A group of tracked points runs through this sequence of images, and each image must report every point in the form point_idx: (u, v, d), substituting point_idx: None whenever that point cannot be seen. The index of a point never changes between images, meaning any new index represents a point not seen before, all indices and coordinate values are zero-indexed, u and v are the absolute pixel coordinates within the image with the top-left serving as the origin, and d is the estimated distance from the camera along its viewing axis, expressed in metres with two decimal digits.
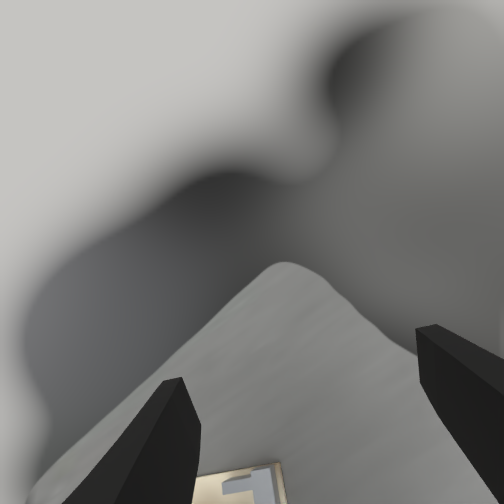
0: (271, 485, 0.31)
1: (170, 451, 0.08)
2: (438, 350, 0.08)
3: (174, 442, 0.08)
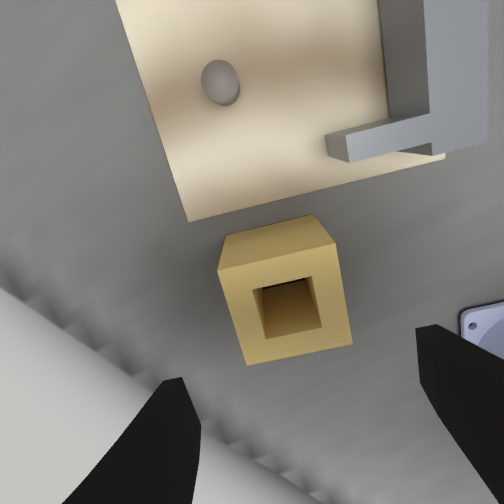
0: None
1: (170, 451, 0.08)
2: (438, 350, 0.08)
3: (174, 442, 0.08)
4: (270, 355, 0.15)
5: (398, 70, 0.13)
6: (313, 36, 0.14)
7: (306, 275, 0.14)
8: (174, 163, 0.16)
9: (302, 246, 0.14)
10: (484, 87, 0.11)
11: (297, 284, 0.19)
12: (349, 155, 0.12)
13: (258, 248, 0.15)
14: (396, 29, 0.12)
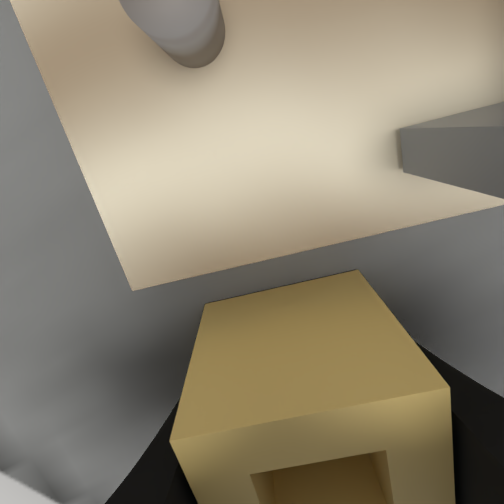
0: None
1: None
2: None
3: None
4: None
5: None
6: None
7: (374, 449, 0.06)
8: (98, 184, 0.08)
9: (364, 380, 0.06)
10: None
11: None
12: None
13: (264, 362, 0.07)
14: None
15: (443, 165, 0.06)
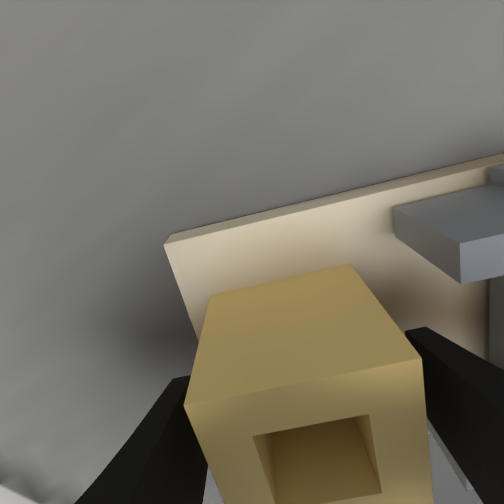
0: None
1: (181, 448, 0.08)
2: (426, 352, 0.08)
3: (185, 440, 0.08)
4: None
5: None
6: (403, 284, 0.11)
7: (359, 413, 0.07)
8: None
9: (350, 354, 0.07)
10: None
11: None
12: (467, 483, 0.10)
13: (264, 343, 0.08)
14: None
15: (434, 431, 0.11)
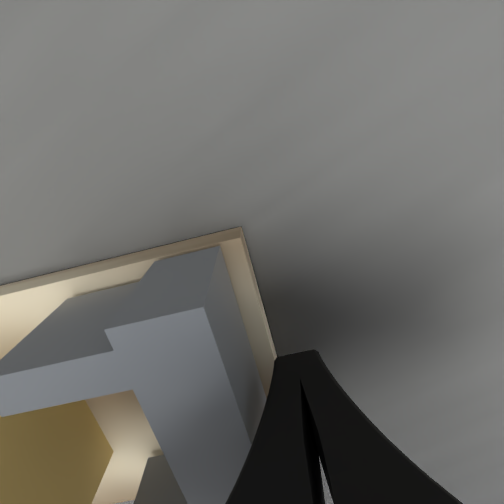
0: (219, 367, 0.07)
1: (308, 424, 0.08)
2: None
3: (308, 416, 0.08)
4: None
5: None
6: None
7: None
8: None
9: None
10: None
11: None
12: None
13: None
14: None
15: None
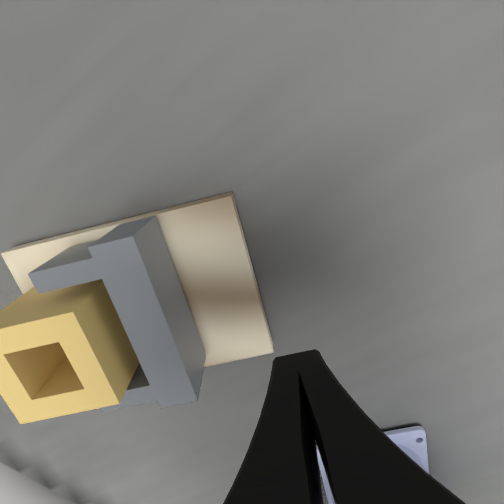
0: (142, 267, 0.14)
1: (307, 425, 0.08)
2: (300, 378, 0.08)
3: (306, 417, 0.08)
4: (41, 413, 0.15)
5: None
6: None
7: (53, 341, 0.14)
8: None
9: (51, 312, 0.14)
10: (187, 369, 0.16)
11: None
12: None
13: (26, 308, 0.15)
14: None
15: None
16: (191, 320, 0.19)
